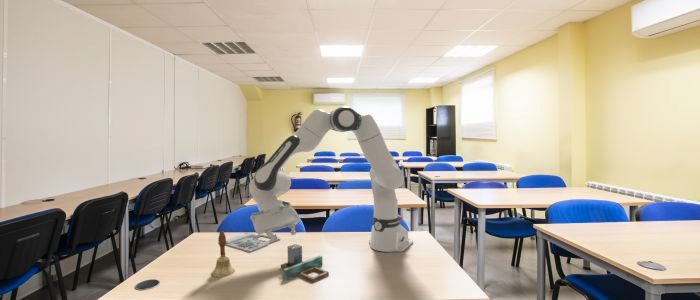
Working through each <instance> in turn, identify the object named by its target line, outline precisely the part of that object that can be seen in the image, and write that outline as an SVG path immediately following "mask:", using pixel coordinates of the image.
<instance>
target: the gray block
mask: <svg viewBox="0 0 700 300" xmlns="http://www.w3.org/2000/svg"><path fill="white" fill-rule="evenodd" d="M302 261H303V245H299V244H297V243H295V244H291V245H287V262H288V267H291V266H293V265H296V264H299V263H301V262H302Z"/></svg>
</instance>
